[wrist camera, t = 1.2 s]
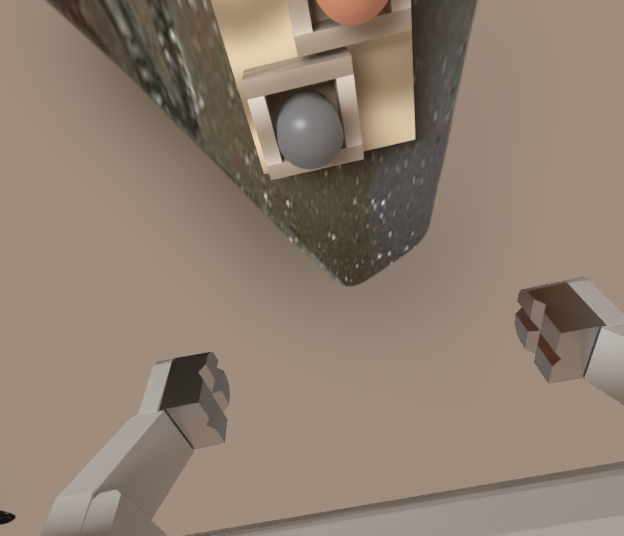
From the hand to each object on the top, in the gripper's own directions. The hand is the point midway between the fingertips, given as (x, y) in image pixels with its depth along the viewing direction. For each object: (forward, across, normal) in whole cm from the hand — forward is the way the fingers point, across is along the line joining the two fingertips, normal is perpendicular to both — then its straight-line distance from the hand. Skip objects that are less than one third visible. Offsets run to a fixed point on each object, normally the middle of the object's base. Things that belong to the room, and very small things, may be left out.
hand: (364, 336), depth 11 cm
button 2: (+22, 0, +1) cm, 22 cm away
